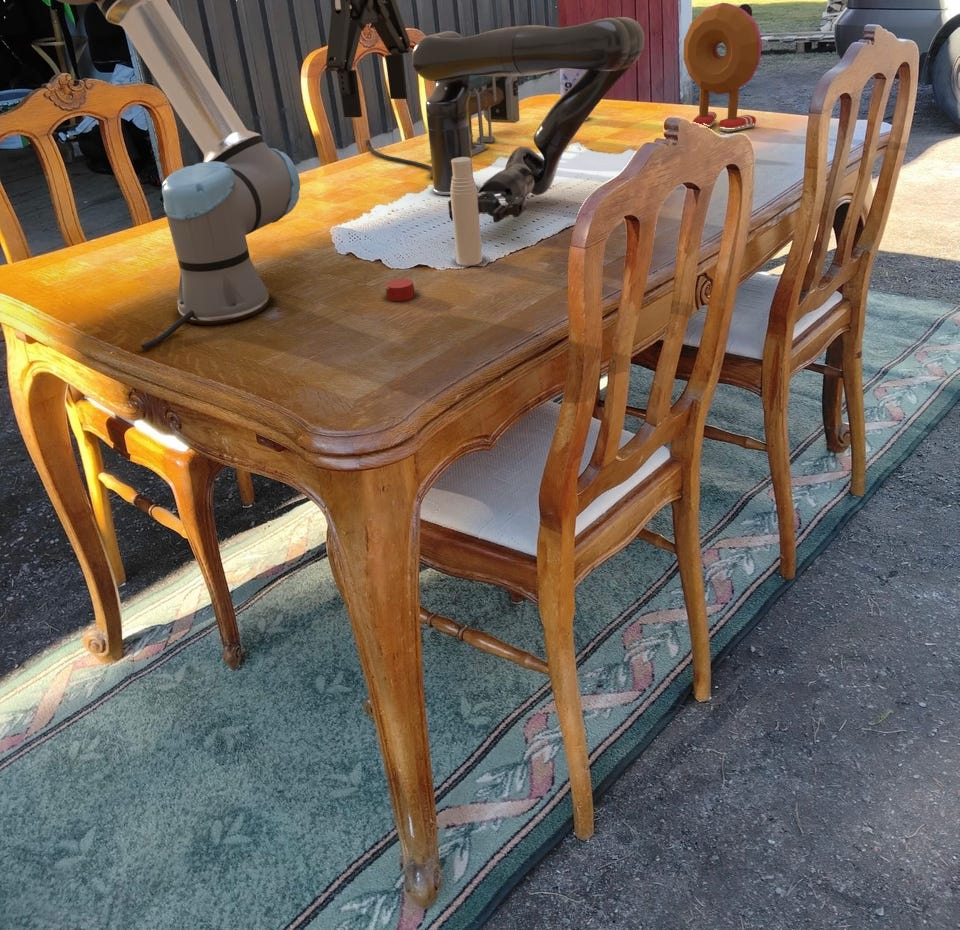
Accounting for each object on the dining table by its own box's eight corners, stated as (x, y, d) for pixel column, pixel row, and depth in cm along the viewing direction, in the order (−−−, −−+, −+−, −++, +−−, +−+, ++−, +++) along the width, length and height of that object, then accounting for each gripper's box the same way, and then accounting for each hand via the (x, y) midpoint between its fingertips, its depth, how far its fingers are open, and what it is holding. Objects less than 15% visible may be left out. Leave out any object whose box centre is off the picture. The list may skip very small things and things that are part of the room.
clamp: (458, 163, 243) (450, 72, 232) (428, 161, 247) (419, 72, 236) (520, 131, 269) (515, 49, 258) (492, 130, 273) (487, 49, 262)
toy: (766, 126, 252) (776, -1, 237) (746, 134, 246) (755, 5, 231) (696, 119, 265) (700, -1, 250) (675, 127, 259) (678, 4, 244)
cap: (396, 303, 162) (394, 290, 161) (382, 296, 166) (380, 283, 164) (419, 296, 164) (418, 282, 163) (405, 289, 168) (404, 276, 167)
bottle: (467, 255, 181) (459, 154, 172) (487, 259, 178) (480, 157, 169) (451, 263, 178) (441, 161, 169) (471, 267, 175) (462, 163, 166)
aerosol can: (559, 122, 275) (557, 47, 265) (562, 117, 282) (559, 42, 272) (587, 121, 274) (585, 45, 263) (589, 115, 280) (587, 41, 270)
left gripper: (331, -41, 128) (353, 125, 138) (422, -56, 147) (436, 91, 157) (285, -38, 131) (310, 124, 142) (380, -53, 150) (396, 91, 160)
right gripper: (468, 172, 192) (436, 195, 179) (536, 173, 187) (508, 197, 174) (471, 210, 196) (440, 235, 183) (538, 212, 191) (510, 238, 178)
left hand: (376, 107), depth 149 cm, fingers open, 13 cm apart
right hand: (473, 216), depth 179 cm, fingers open, 8 cm apart
